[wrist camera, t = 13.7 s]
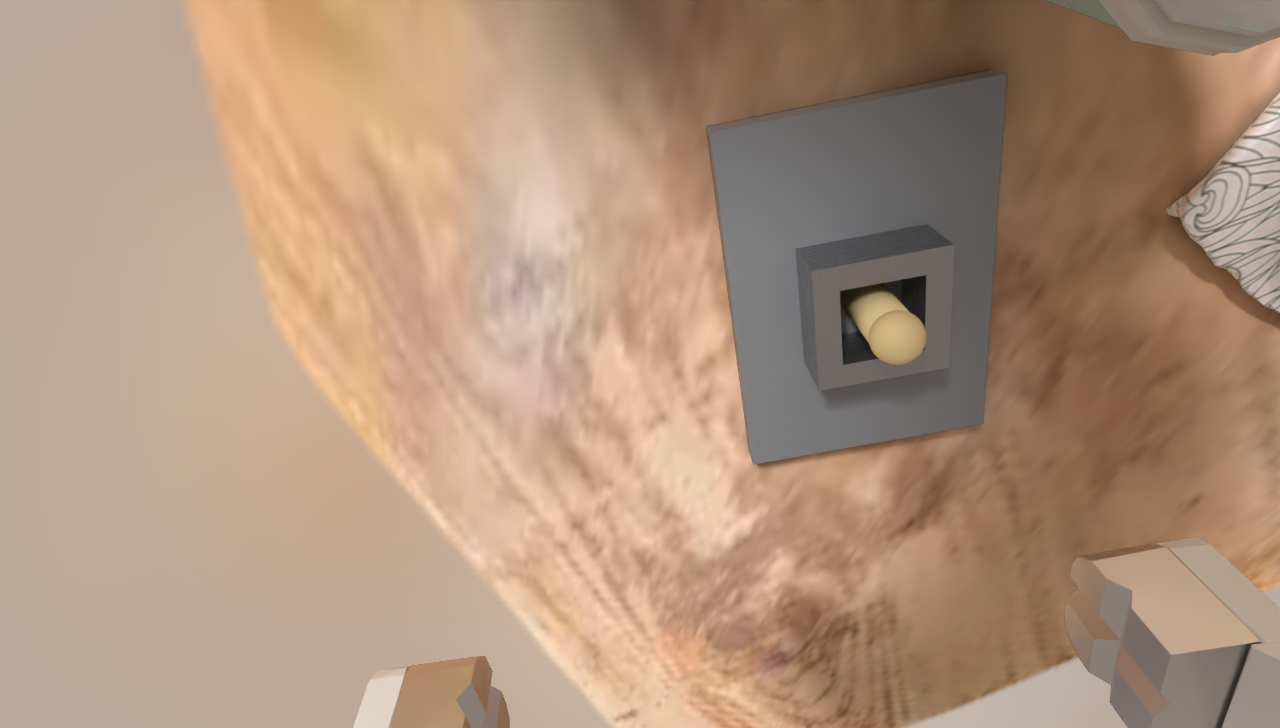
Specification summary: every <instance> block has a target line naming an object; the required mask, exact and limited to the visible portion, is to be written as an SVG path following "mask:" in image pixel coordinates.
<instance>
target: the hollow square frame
mask: <svg viewBox="0 0 1280 728" xmlns="http://www.w3.org/2000/svg"><path fill="white" fill-rule="evenodd" d="M795 251H796V264H797V277H798V290H799V303H800V316H801V329H802V342H803V355H804V362H805V364H806V366H807V368H808V370H809V372H810V374H811V376H812V378H813V380H814V382H815V383H816V385H817V387H818V389H819V391H820V390H826V389H832V388H837V387H843V386H848V385H854V384H860V383H865V382H871V381H877V380H882V379H888V378H893V377H899V376H905V375H910V374H916V373H921V372H927V371H933V370H938V369H944V368H949V364H950V339H951V315H952V290H953V265H954V244H953V243H951V242H950V241H949V240H948V239H946V238H945V237H944V236H942V235H941V234H940V233H938V232H937V231H936V230H934V229H933V228H932V227H930V226H929V225H928V224H923V225H918V226H913V227H907V228H902V229H897V230H891V231H886V232H881V233H876V234H870V235H865V236H860V237H854V238H849V239H844V240H838V241H833V242H828V243H822V244H817V245H812V246H806V247H801V248H796V249H795ZM896 280H902V287H901V303H902V304H903V305H904V306H905V307H906V308H907V310H908V311H909V312H910V313H912V314H914V315H915V316H916V317H918V318H919V319H920V321H921V322H922V323H923V325H924V327H925V330H926V336H927V338H926V344H925V347H924V349H923V351H922V352H921V354H920V355H919V356H918V357H917V358H916V359H914V360H913V361H911V362H909V363H906V364H901V365H894V364H888V363H886V362H883V361H882V360H880V359H879V358H877V357H876V355H875V354H874V353H873V352H872V350H871V348H870V345H869V343H868V341H867V340H866V339H865V337H864V336H863V334H862V333H861V332H860V331H857V332H851V333H845V334H842V330H841V308H840V291H842V290H848V289H853V288H858V287H864V286H869V285H875V284H880V283H886V282H891V281H896Z"/></svg>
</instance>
